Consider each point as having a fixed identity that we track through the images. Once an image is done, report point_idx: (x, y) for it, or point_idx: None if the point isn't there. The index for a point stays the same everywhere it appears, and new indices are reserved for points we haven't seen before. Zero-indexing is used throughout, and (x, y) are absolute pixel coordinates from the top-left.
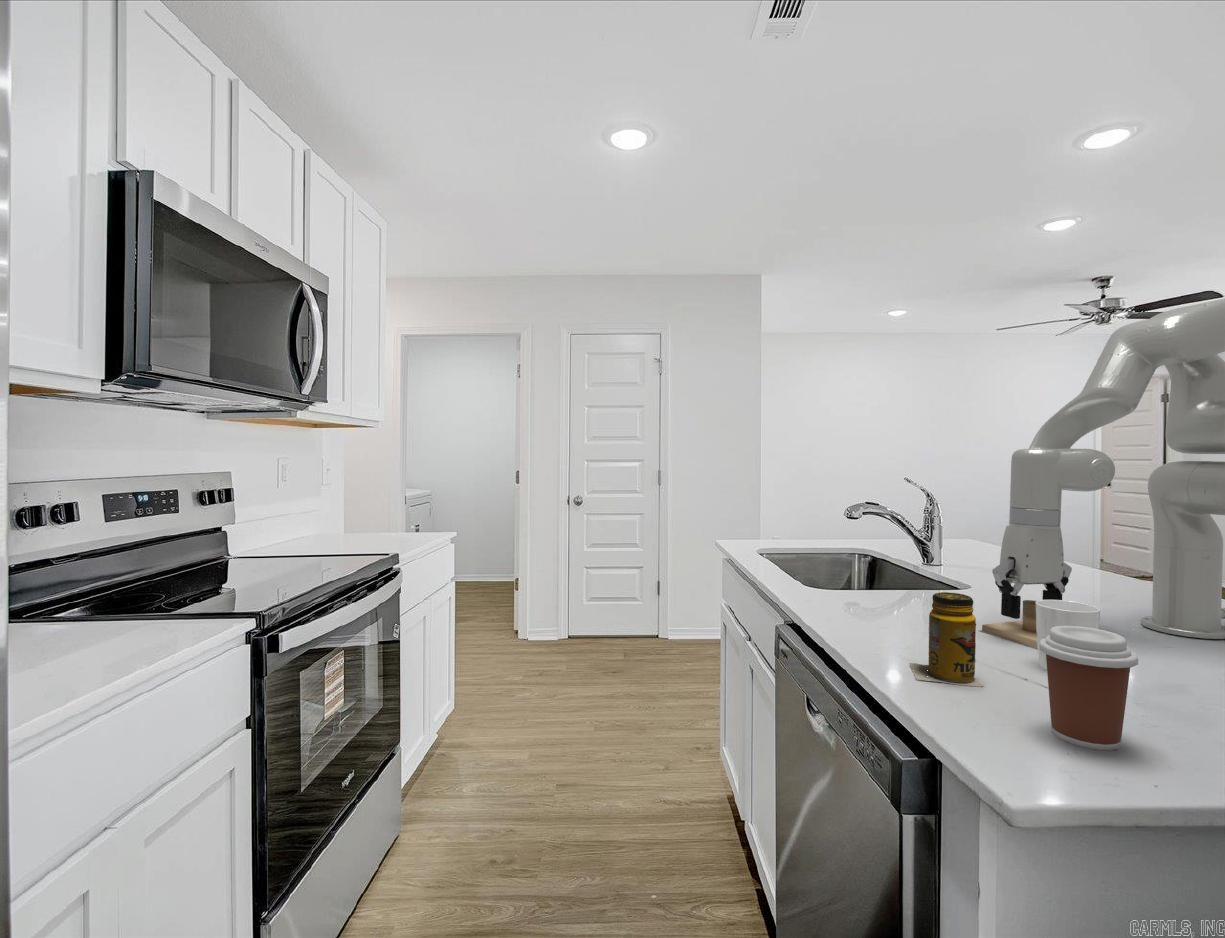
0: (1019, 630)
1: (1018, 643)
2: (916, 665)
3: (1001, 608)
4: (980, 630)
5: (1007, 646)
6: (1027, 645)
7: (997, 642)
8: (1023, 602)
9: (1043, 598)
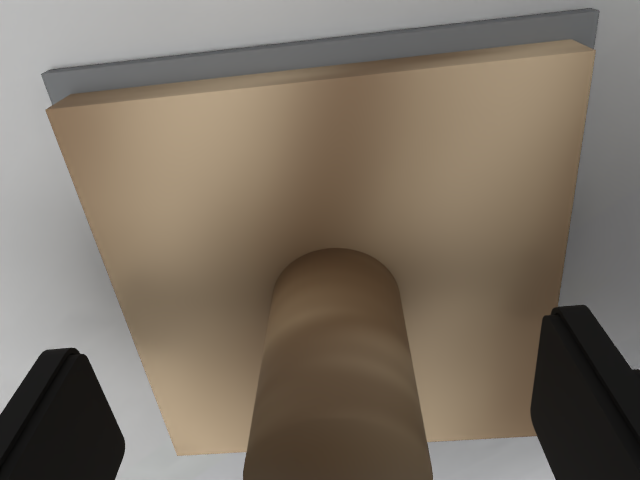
0: (236, 289)
1: None
2: None
3: (21, 387)
4: (68, 74)
5: (80, 335)
6: None
7: (67, 273)
8: (249, 448)
9: (603, 417)
